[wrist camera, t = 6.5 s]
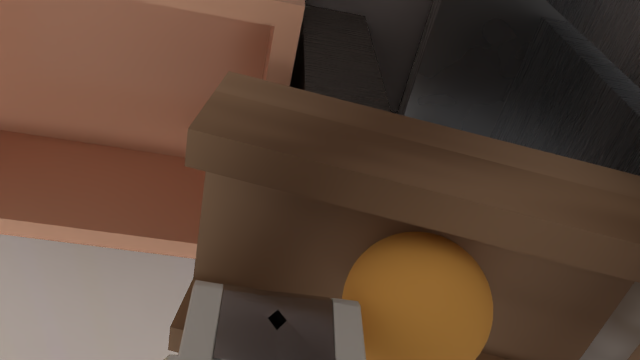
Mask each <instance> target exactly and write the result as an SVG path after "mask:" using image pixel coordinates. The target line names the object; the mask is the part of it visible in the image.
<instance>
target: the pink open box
mask: <svg viewBox="0 0 640 360" xmlns="http://www.w3.org/2000/svg"><path fill="white" fill-rule="evenodd" d="M304 9H305V0H0V234H4V235H12V236H20V237H28V238H36V239H44V240H51V241H59V242H67V243H75V244H83V245H91V246H99V247H107V248H114V249H122V250H130V251H138V252H146V253H154V254H162V255H170V256H178V257H185V258H193V259H196V251H197V242H198V234H199V225H200V216H201V207H202V199H203V190H204V181H205V172H206V171H202V170H198V169H194V168H190V167H186V166H185V156H186V144H187V133H188V128H189V126H190V125H191V123H192V122H193V121H194V119H195V118H196V116H197V115H198V114H199V112H200V111H201V109H202V108H203V107H204V105H205V104H206V102H207V101H208V100H209V98H210V97H211V95H212V94H213V92H214V91H215V90H216V88H217V87H218V85H219V84H220V83H221V81H222V80H223V78H224V77H225V76H226V74H227V73H228V71H231V72H235V73H239V74H243V75H246V76H250V77H254V78H258V79H262V80H266V81H270V82H274V83H278V84H282V85H286V86H290V82H291V76H292V71H293V66H294V61H295V56H296V51H297V45H298V40H299V35H300V30H301V25H302V20H303V14H304Z"/></svg>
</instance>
